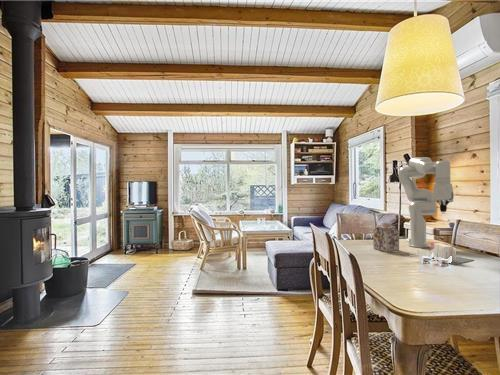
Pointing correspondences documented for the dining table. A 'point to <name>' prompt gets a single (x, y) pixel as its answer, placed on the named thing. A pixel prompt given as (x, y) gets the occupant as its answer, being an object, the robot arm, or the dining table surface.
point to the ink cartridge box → (443, 251)
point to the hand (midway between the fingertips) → (443, 211)
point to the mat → (460, 260)
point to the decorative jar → (386, 238)
